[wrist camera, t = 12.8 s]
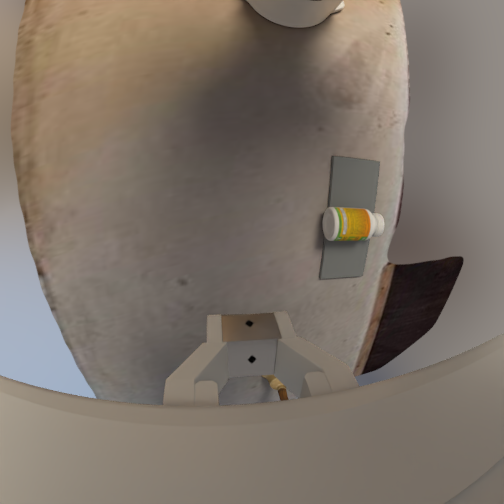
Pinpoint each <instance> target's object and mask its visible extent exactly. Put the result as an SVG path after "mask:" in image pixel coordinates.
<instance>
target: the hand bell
mask: <svg viewBox="0 0 504 504" xmlns="http://www.w3.org/2000/svg"><path fill="white" fill-rule="evenodd" d="M261 376H262V377H264V378H266V379H267V380H268V382H269V384H270V386H271V388H273V389H275V390H278V393H279V396H280V400H281V401H283V400H289V399H288V397H287V392H286V386H284V385H283V384H282V383H281V382H280V381H279V380H278V379H277V378H276V377H275V376H274V375H261Z"/></svg>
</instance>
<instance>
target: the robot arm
mask: <svg viewBox="0 0 504 504" xmlns="http://www.w3.org/2000/svg"><path fill="white" fill-rule="evenodd" d="M246 1H247V2H248V3H249V4H250V5H251V6H252V7H253V8H254V9H255V10H256V11H257V12H258V13H259V14H260V15H262V16H263V17H265V18H266V19H268V20H270V21H272V22H274V23H277V24H280V25H283V26H288V27H296V28H304V27H310V26H314V25H317V24H319V23H321V22H322V21H324V20H325V19H326V18H327V17H328V16H329V15H330V14H331V13H334V12H338V11H340V10H342V9H343V8H344V2H343V0H246ZM221 323H222V324H221ZM260 375H274V376H275V377H276V378H277V379H278V380H279V381H280V382H281V383H282V384H283V385H284V386H286V387H287V388H288V389H289V390H290V391H291V392H292V393H293V394H294V395H295V396H296V397H297V398H298V399H291V400H283V401H274V402H265V403H254V404H241V405H222V406H219V396H218V395H219V394H220V392H221V390H222V389H223V387H224V386H225V384H226V383H227V381H228V380H229V378H234V377H246V376H260ZM0 504H504V334H501V335H499V336H497V337H495V338H493V339H491V340H489V341H487V342H485V343H483V344H481V345H479V346H477V347H474V348H472V349H470V350H468V351H465V352H463V353H461V354H459V355H456V356H454V357H451V358H449V359H446V360H444V361H441V362H439V363H436V364H433V365H430V366H428V367H425V368H422V369H419V370H416V371H413V372H410V373H407V374H404V375H401V376H397V377H394V378H391V379H387V380H384V381H380V382H376V383H373V384H369V385H365V386H361V387H359V385H358V383H357V381H356V379H355V377H354V375H353V373H352V371H351V370H350V368H349V366H348V365H347V364H345V363H344V362H342V361H340V360H338V359H337V358H335V357H333V356H332V355H330V354H328V353H327V352H325V351H323V350H322V349H320V348H318V347H317V346H315V345H313V344H312V343H310V342H309V341H307V340H305V339H304V338H302V337H297V335H296V333H295V330H294V328H293V325H292V323H291V321H290V318H289V316H288V313H287V312H286V311H280V312H273V313H259V314H222V315H208V316H207V343H202V344H201V345H200V346H199V347H198V348H197V349H196V350H195V351H194V352H193V353H192V354H191V355H190V356H189V357H188V358H187V359H186V360H185V361H184V362H183V363H182V364H181V365H180V366H179V367H178V368H177V369H176V370H175V371H174V372H173V373H172V374H171V375H170V376H169V377H168V378H167V379H166V383H165V390H164V398H163V405H149V404H136V403H126V402H117V401H109V400H101V399H94V398H88V397H82V396H77V395H72V394H67V393H62V392H57V391H53V390H48V389H44V388H41V387H36V386H33V385H29V384H26V383H22V382H19V381H16V380H13V379H9V378H6V377H3V376H0Z"/></svg>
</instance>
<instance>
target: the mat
mask: <svg viewBox="0 0 504 504" xmlns="http://www.w3.org/2000/svg"><path fill="white" fill-rule="evenodd" d="M379 166H380V162H379V161H372V160H365V159H357V158H348V157H339V156H332V164H331V178H330V190H329V201H328V208H329V207H344V208H363V209H368V210H369V211H370V212H371V213H374V209H375V202H376V194H377V185H378V176H379ZM369 241H370V238H369V239H368V240H365V241H329V240H327V239H326V237H324V246H323V253H322V261H321V268H320V275H319V277H320V279H328V278H343V277H357V276H363V271H364V267H365V262H366V257H367V251H368V246H369Z"/></svg>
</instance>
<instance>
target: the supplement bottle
mask: <svg viewBox="0 0 504 504" xmlns="http://www.w3.org/2000/svg"><path fill="white" fill-rule="evenodd" d="M383 230H384V219H383V217H382V215H381V214H379V213H371V212H370V211H369V210H368V209H363V208H344V207H329V208H327V209H326V210H325V213H324V216H323V232H324V235H325V237H326V239H327V240H329V241H365V240H368V239H369V238H370V237H371V236H380V235H381V234H382V233H383Z"/></svg>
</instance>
